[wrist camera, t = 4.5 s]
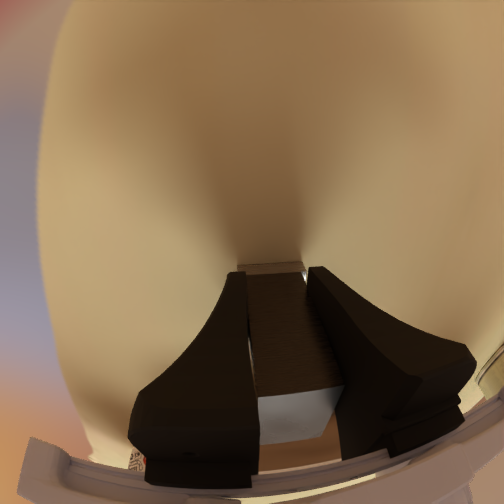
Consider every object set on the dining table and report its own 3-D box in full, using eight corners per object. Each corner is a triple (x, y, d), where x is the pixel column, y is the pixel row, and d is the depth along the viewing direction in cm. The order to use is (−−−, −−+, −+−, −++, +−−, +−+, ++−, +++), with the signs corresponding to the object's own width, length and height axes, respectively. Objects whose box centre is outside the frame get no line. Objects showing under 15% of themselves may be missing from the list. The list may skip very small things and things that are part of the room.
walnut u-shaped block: (184, 400, 18) (181, 472, 13) (342, 386, 19) (364, 451, 14) (202, 439, 22) (202, 493, 17) (323, 428, 23) (336, 479, 18)
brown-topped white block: (237, 265, 13) (249, 397, 7) (302, 261, 13) (352, 383, 7) (246, 417, 20) (253, 491, 14) (282, 414, 20) (295, 486, 14)
